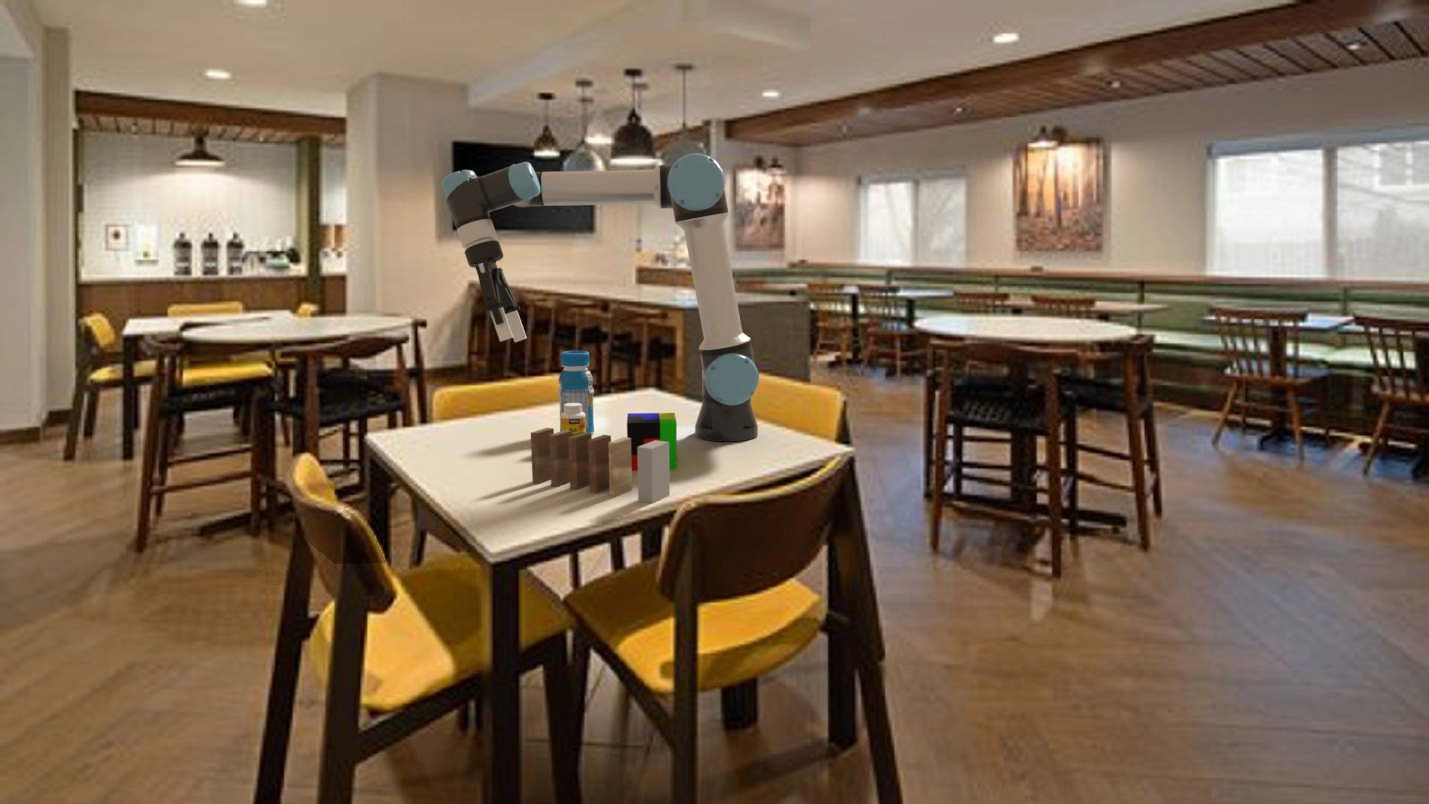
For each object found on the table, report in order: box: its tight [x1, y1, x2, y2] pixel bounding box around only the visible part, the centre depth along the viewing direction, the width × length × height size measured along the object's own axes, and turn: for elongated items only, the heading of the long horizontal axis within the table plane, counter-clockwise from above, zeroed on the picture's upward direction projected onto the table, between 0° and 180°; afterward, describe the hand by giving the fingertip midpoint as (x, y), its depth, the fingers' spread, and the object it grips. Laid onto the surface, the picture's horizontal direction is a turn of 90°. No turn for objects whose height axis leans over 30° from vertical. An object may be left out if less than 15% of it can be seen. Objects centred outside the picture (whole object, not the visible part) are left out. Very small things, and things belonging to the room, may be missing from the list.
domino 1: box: [530, 427, 555, 485], centre depth 171 cm, size 2×5×10 cm, turn 152°
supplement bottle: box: [561, 403, 586, 436], centre depth 197 cm, size 6×6×10 cm
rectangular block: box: [637, 440, 671, 504], centre depth 159 cm, size 3×6×10 cm, turn 152°
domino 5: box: [608, 436, 633, 497], centre depth 163 cm, size 2×5×10 cm, turn 152°
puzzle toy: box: [626, 412, 678, 472], centre depth 184 cm, size 10×10×10 cm
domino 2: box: [549, 430, 572, 488], centre depth 169 cm, size 2×5×10 cm, turn 152°
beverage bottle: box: [557, 350, 595, 436], centre depth 210 cm, size 8×8×20 cm
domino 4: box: [588, 434, 612, 494], centre depth 165 cm, size 2×5×10 cm, turn 152°
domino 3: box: [569, 432, 593, 491], centre depth 167 cm, size 2×5×10 cm, turn 152°
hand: (514, 340), depth 187 cm, fingers open, 13 cm apart
